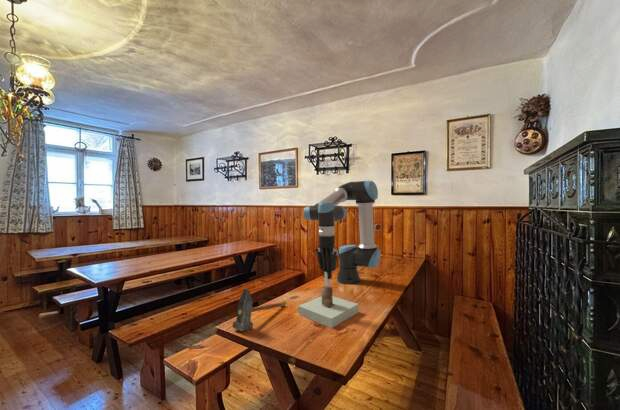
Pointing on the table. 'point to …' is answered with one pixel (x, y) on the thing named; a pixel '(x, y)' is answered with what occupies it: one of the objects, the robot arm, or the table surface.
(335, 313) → the board
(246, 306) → the hammer
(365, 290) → the table surface
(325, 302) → the peg
